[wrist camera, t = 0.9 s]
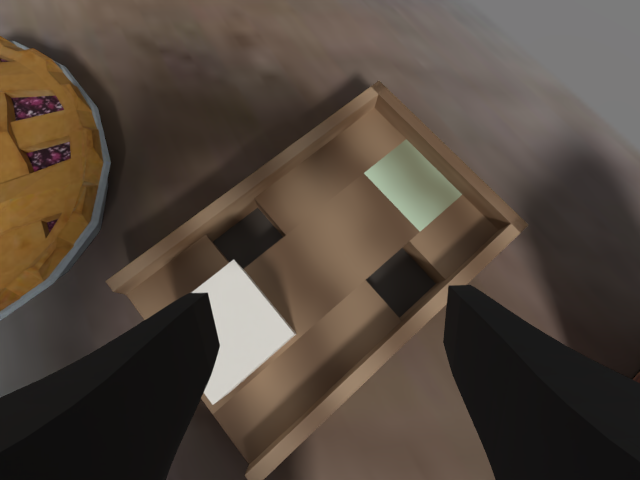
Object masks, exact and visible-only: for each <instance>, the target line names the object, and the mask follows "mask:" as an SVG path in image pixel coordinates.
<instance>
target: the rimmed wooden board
mask: <svg viewBox="0 0 640 480" xmlns="http://www.w3.org/2000/svg"><path fill="white" fill-rule="evenodd" d="M527 226H528V224H527V223H526V222H525V221H524V220H523V219H522V218H521V217H520V216H519V215H518V214H517V213H516V212H515V211H514V210H513V209H512V208H510V207H509V206H508V205H507V204H506V203H505V202H504V201H503V200H502V199H501V198H500V197H499V196H498V195H497V194H496V193H495V192H494V191H493V190H492V189H491V188H490V187H489V186H488V185H487V184H486V183H485V182H484V181H482V180H481V179H480V178H479V177H478V176H477V175H476V174H475V173H474V172H473V171H472V170H471V169H470V168H469V167H468V166H467V165H466V164H465V163H464V162H463V161H462V160H461V159H460V158H459V157H458V156H457V155H456V154H455V153H453V152H452V151H451V150H450V149H449V148H448V147H447V146H446V145H445V144H444V143H443V142H442V141H441V140H440V139H439V138H438V137H437V136H436V135H435V134H434V133H433V132H432V131H431V130H430V129H429V128H428V127H427V126H426V125H424V124H423V123H422V122H421V121H420V120H419V119H418V118H417V117H416V116H415V115H414V114H413V113H412V112H411V111H410V110H409V109H408V108H407V107H406V106H405V105H404V104H403V103H402V102H401V101H400V100H399V99H398V98H396V97H395V96H394V95H393V94H392V93H391V92H390V91H389V90H388V89H387V88H386V87H385V86H384V85H383V84H382V83H381V82H380V81H378V82H376V83H375V84H374V85H372V86H371V87H369V88H368V89H367V90H365V91H364V92H363V93H361V94H360V95H359V96H357V97H356V98H354V99H353V100H352V101H350V102H349V103H348V104H346V105H345V106H344V107H342V108H341V109H339V110H338V111H337V112H335V113H334V114H333V115H331V116H330V117H329V118H327V119H326V120H325V121H323V122H322V123H320V124H319V125H318V126H316V127H315V128H314V129H312V130H311V131H310V132H308V133H307V134H305V135H304V136H303V137H301V138H300V139H299V140H297V141H296V142H295V143H293V144H292V145H290V146H289V147H288V148H286V149H285V150H284V151H282V152H281V153H280V154H278V155H277V156H275V157H274V158H273V159H271V160H270V161H269V162H267V163H266V164H265V165H263V166H262V167H260V168H259V169H258V170H256V171H255V172H254V173H252V174H251V175H250V176H248V177H247V178H245V179H244V180H243V181H241V182H240V183H239V184H237V185H236V186H235V187H233V188H232V189H230V190H229V191H228V192H226V193H225V194H224V195H222V196H221V197H220V198H218V199H217V200H215V201H214V202H213V203H211V204H210V205H209V206H207V207H206V208H205V209H203V210H202V211H201V212H199V213H198V214H196V215H195V216H194V217H192V218H191V219H190V220H188V221H187V222H186V223H184V224H183V225H181V226H180V227H179V228H177V229H176V230H175V231H173V232H172V233H171V234H169V235H168V236H166V237H165V238H164V239H162V240H161V241H160V242H158V243H157V244H156V245H154V246H153V247H151V248H150V249H149V250H147V251H146V252H145V253H143V254H142V255H141V256H139V257H138V258H136V259H135V260H134V261H132V262H131V263H130V264H128V265H127V266H126V267H124V268H123V269H121V270H120V271H119V272H117V273H116V274H115V275H113V276H112V277H111V278H109V279H108V280H106V283H107V284H108V285H109V287H110V288H111V290H112V291H113V292H117V293H121V294H126V295H127V297H128V298H129V299H130V301H131V302H132V303H133V305H134V306H135V308H136V309H137V310H138V312H139V313H140V315H141V316H142V317H143V319H144V320H146V319H148V318H149V317H151V316H152V315H154V314H155V313H157V312H158V311H160V310H161V309H163V308H164V307H166V306H168V305H169V304H171V303H172V302H174V301H176V300H177V299H179V298H181V297H182V296H184V295H186V294H188V293H192V292H193V291H194V290H195V289H197V288H198V287H199V286H201V285H202V284H203V283H204V282H206V281H207V280H208V279H209V278H211V277H212V276H213V275H215V274H216V273H217V272H218V271H220V270H221V269H222V268H223V267H225V266H226V265H227V264H229V263H230V262H231V261H232V260H235V261H236V262H237V263H238V264H239V265H240V266H241V267H242V268H243V269H244V270H245V271H246V272H247V274H248V275H249V276H250V277H251V279H252V280H253V281H254V282H255V284H256V285H257V286H258V287H259V288H260V290H261V291H262V292H263V293H264V295H265V296H266V297H267V298H268V299H269V301H270V302H271V303H272V304H273V306H274V307H275V308H276V309H277V311H278V312H279V313H280V314H281V315H282V317H283V318H284V319H285V320H286V322H287V323H288V324H289V325H290V327H291V328H292V329H293V330H294V331H295V333H296V335H295V336H294V337H292V338H291V339H290V340H289V341H288V342H287V343H286V344H284V345H283V346H282V347H281V348H280V349H279V350H278V351H277V352H275V353H274V354H273V355H272V356H271V357H270V358H269V359H267V360H266V361H265V362H264V363H263V364H262V365H261V366H259V367H258V368H257V369H256V370H255V371H254V372H253V373H251V374H250V375H249V376H248V377H247V378H246V379H245V380H243V381H242V382H241V383H240V384H239V385H238V386H237V387H235V388H234V389H233V390H232V391H231V392H230V393H228V394H227V395H226V396H224V397H223V398H222V399H220V400H219V401H218V402H216V403H215V404H214V405H212V403H211V402H210V401H209V399H208V398H207V397H206V395H205V394H204V393H203V395H202V397H201V399H202V400H203V402H204V403H205V404H206V406H207V407H208V409H209V410H210V411H211V413H212V414H213V415H214V417H215V418H216V420H217V421H218V422H219V424H220V425H221V427H222V428H223V429H224V431H225V432H226V433H227V435H228V436H229V438H230V439H231V440H232V442H233V443H234V445H235V446H236V447H237V449H238V450H239V451H240V453H241V454H242V456H243V457H244V458H245V460H246V461H247V463H248V464H249V466H248V468H247V471H246V473H245V477H246V478H247V480H264V479H265V478H266V477H267V476H268V475H269V474H270V473H271V472H272V471H273V470H274V469H275V468H276V467H277V466H278V465H279V464H280V463H281V462H282V461H283V460H284V459H286V458H287V457H288V456H289V455H290V454H291V453H292V452H293V451H294V450H295V449H296V448H297V447H298V446H299V445H300V444H301V443H302V442H303V441H304V440H305V439H306V438H307V437H308V436H309V435H311V434H312V433H313V432H314V431H315V430H316V429H317V428H318V427H319V426H320V425H321V424H322V423H323V422H324V421H325V420H326V419H327V418H328V417H329V416H330V415H331V414H332V413H333V412H334V411H336V410H337V409H338V408H339V407H340V406H341V405H342V404H343V403H344V402H345V401H346V400H347V399H348V398H349V397H350V396H351V395H352V394H353V393H354V392H355V391H356V390H357V389H358V388H359V387H361V386H362V385H363V384H364V383H365V382H366V381H367V380H368V379H369V378H370V377H371V376H372V375H373V374H374V373H375V372H376V371H377V370H378V369H379V368H380V367H381V366H382V365H383V364H384V363H386V362H387V361H388V360H389V359H390V358H391V357H392V356H393V355H394V354H395V353H396V352H397V351H398V350H399V349H400V348H401V347H402V346H403V345H404V344H405V343H406V342H407V341H408V340H409V339H411V338H412V337H413V336H414V335H415V334H416V333H417V332H418V331H419V330H420V329H421V328H422V327H423V326H424V325H425V324H426V323H427V322H428V321H429V320H430V319H431V318H432V317H433V316H434V315H436V314H437V313H438V312H439V311H440V310H441V309H442V308H443V307H444V306H445V305H446V304H447V296H448V285H467V284H468V283H469V282H470V281H471V280H472V279H473V278H474V277H475V276H476V275H477V274H478V273H479V272H480V271H481V270H482V269H483V268H484V267H486V266H487V265H488V264H489V263H490V262H491V261H492V260H493V259H494V258H495V257H496V256H497V255H498V254H499V253H500V252H501V251H502V250H503V249H504V248H505V247H506V246H507V245H508V244H509V243H511V242H512V241H513V240H514V239H515V238H516V237H517V236H518V235H519V234H520V233H521V232H522V231H523V230H524V229H525V228H526V227H527Z"/></svg>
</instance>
